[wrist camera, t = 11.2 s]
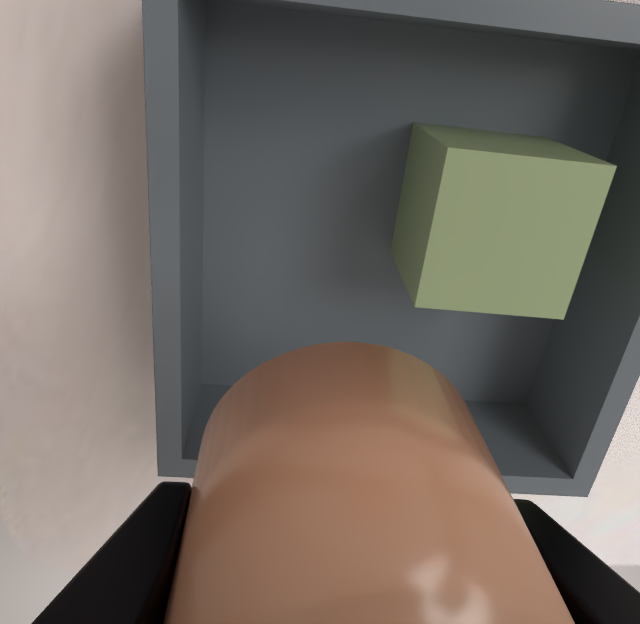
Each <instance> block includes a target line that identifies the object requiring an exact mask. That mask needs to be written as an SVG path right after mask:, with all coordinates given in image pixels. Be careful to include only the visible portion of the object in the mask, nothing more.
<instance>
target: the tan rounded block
mask: <svg viewBox="0 0 640 624" xmlns="http://www.w3.org/2000/svg"><path fill="white" fill-rule="evenodd" d="M163 624H575V623H574V621H573V619H572V617H571V615H570V613H569V611H568V609H567V607H566V605H565V602H564V600H563V598H562V596H561V594H560V592H559V590H558V588H557V586H556V584H555V582H554V580H553V578H552V576H551V574H550V572H549V570H548V568H547V566H546V564H545V562H544V560H543V558H542V556H541V554H540V552H539V550H538V548H537V546H536V544H535V542H534V540H533V538H532V536H531V534H530V532H529V530H528V528H527V526H526V524H525V522H524V520H523V518H522V516H521V514H520V512H519V510H518V508H517V506H516V504H515V502H514V500H513V498H512V496H511V494H510V492H509V490H508V488H507V486H506V484H505V482H504V480H503V478H502V476H501V473H500V471H499V469H498V467H497V465H496V463H495V461H494V459H493V457H492V455H491V453H490V451H489V449H488V447H487V445H486V443H485V441H484V439H483V437H482V435H481V433H480V431H479V429H478V427H477V425H476V423H475V421H474V419H473V417H472V415H471V413H470V411H469V409H468V407H467V405H466V403H465V401H464V399H463V398H462V396H461V395H460V394H459V392H458V391H457V389H456V388H455V387H454V386H453V385H452V384H451V382H450V381H449V380H448V379H447V378H446V377H445V376H444V375H442V374H441V373H440V372H438V371H437V370H436V369H435V368H433V367H432V366H431V365H429V364H427V363H425V362H424V361H422V360H420V359H418V358H417V357H415V356H412V355H410V354H407V353H405V352H402V351H400V350H397V349H393V348H389V347H386V346H382V345H377V344H369V343H362V342H333V343H322V344H316V345H311V346H307V347H302V348H298V349H295V350H292V351H289V352H286V353H283V354H281V355H279V356H277V357H274V358H272V359H270V360H268V361H266V362H264V363H262V364H261V365H259V366H258V367H256V368H254V369H253V370H251V371H250V372H248V373H247V374H246V375H244V376H243V377H242V378H241V379H240V380H238V381H237V382H236V383H235V384H234V385H233V386H232V387H231V388H230V389H229V390H228V391H227V392H226V393H225V395H224V396H223V397H222V398H221V400H220V401H219V403H218V404H217V405H216V407H215V408H214V410H213V412H212V414H211V416H210V418H209V420H208V422H207V424H206V427H205V431H204V434H203V437H202V441H201V446H200V451H199V456H198V460H197V465H196V470H195V474H194V479H193V484H192V488H191V494H190V499H189V504H188V509H187V513H186V518H185V523H184V527H183V532H182V537H181V542H180V546H179V551H178V556H177V560H176V565H175V570H174V574H173V578H172V583H171V587H170V592H169V596H168V601H167V606H166V610H165V615H164V620H163Z"/></svg>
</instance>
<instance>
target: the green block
mask: <svg viewBox="0 0 640 624" xmlns="http://www.w3.org/2000/svg"><path fill="white" fill-rule="evenodd" d="M616 167H617V166H616V165H613V164H611V163H608V162H606V161H603V160H601V159H598V158H596V157H593V156H591V155H589V154H586V153H584V152H581V151H579V150H576V149H574V148H571V147H569V146H566V145H564V144H562V143H559V142H557V141H554V140H552V139H549V138H547V137H540V136H531V135H522V134H513V133H505V132H496V131H487V130H478V129H469V128H461V127H452V126H443V125H434V124H425V123H417V122H413V128H412V134H411V139H410V145H409V150H408V156H407V161H406V167H405V173H404V178H403V184H402V189H401V195H400V201H399V206H398V212H397V217H396V223H395V229H394V234H393V240H392V245H391V251H390V253H391V255H392V257H393V259H394V262H395V264H396V266H397V268H398V271H399V273H400V275H401V278H402V280H403V282H404V284H405V287H406V289H407V291H408V293H409V296H410V298H411V300H412V302H413V305H414V307H419V308H431V309H443V310H455V311H467V312H479V313H491V314H503V315H514V316H526V317H538V318H550V319H562V320H564V317H565V315H566V312H567V309H568V306H569V303H570V300H571V297H572V294H573V291H574V289H575V286H576V283H577V280H578V277H579V274H580V271H581V268H582V266H583V263H584V260H585V257H586V254H587V251H588V248H589V245H590V242H591V240H592V237H593V234H594V231H595V228H596V225H597V222H598V219H599V216H600V214H601V211H602V208H603V205H604V202H605V199H606V196H607V193H608V191H609V188H610V185H611V182H612V179H613V176H614V173H615V170H616Z"/></svg>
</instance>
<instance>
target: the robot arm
mask: <svg viewBox="0 0 640 624" xmlns="http://www.w3.org/2000/svg"><path fill="white" fill-rule="evenodd" d="M190 494H191V486H190V484H189V483H186V482H166V481H165V482H162V483H160V484H158V485H157V487H156V488H155V489H154V490H153V491H152V492H151V493H150V494H149V495H148V496H147V497H146V499H145V500H144V501H143V502H142V503H141V504H140V505H139V506H138V507H137V508H136V510H135V511H134V512H133V513H132V514H131V515H130V516H129V517H128V518H127V519H126V521H125V522H124V523H123V524H122V525H121V526H120V527H119V528H118V529H117V530H116V531H115V533H114V534H113V535H112V536H111V537H110V538H109V539H108V540H107V541H106V542H105V544H104V545H103V546H102V547H101V548H100V549H99V550H98V551H97V552H96V553H95V555H94V556H93V557H92V558H91V559H90V560H89V561H88V562H87V563H86V564H85V565H84V567H83V568H82V569H81V570H80V571H79V572H78V573H77V574H76V575H75V576H74V578H73V579H72V580H71V581H70V582H69V583H68V584H67V585H66V586H65V587H64V589H63V590H62V591H61V592H60V593H59V594H58V595H57V596H56V597H55V598H54V600H53V601H52V602H51V603H50V604H49V605H48V606H47V607H46V608H45V610H44V611H43V612H42V613H41V614H40V615H39V616H38V617H37V618H36V619H35V620H34V622H33V623H32V624H163V620H164V615H165V610H166V606H167V601H168V596H169V592H170V587H171V583H172V578H173V574H174V570H175V565H176V560H177V556H178V551H179V546H180V542H181V537H182V532H183V527H184V523H185V518H186V513H187V509H188V504H189V499H190ZM513 500H514V502H515V504H516V506H517V508H518V510H519V512H520V514H521V516H522V518H523V520H524V522H525V524H526V526H527V528H528V530H529V532H530V534H531V536H532V538H533V540H534V542H535V544H536V546H537V548H538V550H539V552H540V554H541V556H542V558H543V560H544V562H545V564H546V566H547V568H548V570H549V572H550V574H551V576H552V578H553V580H554V582H555V584H556V586H557V588H558V590H559V592H560V594H561V596H562V598H563V600H564V602H565V605H566V607H567V609H568V611H569V613H570V615H571V617H572V619H573V621H574V623H575V624H640V592H638V591H637V590H636V589H635V588H634V587H633V586H631V585H630V584H629V583H628V582H626V581H625V580H624V579H623V578H622V577H621V576H619V575H618V574H617V573H616V572H615V571H614V570H612V569H611V568H610V567H609V566H608V565H607V564H605V563H604V562H603V561H602V560H601V559H599V558H598V557H597V556H596V555H595V554H594V553H592V552H591V551H590V550H589V549H588V548H587V547H585V546H584V545H583V544H582V543H581V542H579V541H578V540H577V539H576V538H575V537H574V536H572V535H571V534H570V533H569V532H568V531H566V530H565V529H564V528H563V527H562V526H561V525H559V524H558V523H557V522H556V521H555V520H553V519H552V518H551V517H550V516H549V515H548V514H546V513H545V512H544V511H543V510H542V509H540V508H539V507H538V506H537V505H536V504H534V503H533V502H531V501H529V500H522V499H513Z"/></svg>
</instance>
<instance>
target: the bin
mask: <svg viewBox="0 0 640 624" xmlns="http://www.w3.org/2000/svg"><path fill="white" fill-rule="evenodd" d="M142 15H143V45H144V75H145V105H146V135H147V165H148V195H149V224H150V254H151V284H152V314H153V344H154V374H155V404H156V434H157V464H158V476H165V477H186V478H194V474H195V470H196V465H197V460H198V456H199V451H200V446H201V441H202V437H203V434H204V431H205V427H206V424H207V422H208V420H209V418H210V416H211V414H212V412H213V410H214V408H215V407H216V405H217V404H218V403H219V401H220V400H221V398H222V397H223V396H224V395H225V393H226V392H227V391H228V390H229V389H230V388H231V387H232V386H233V385H234V384H235V383H236V382H237V381H238V380H240V379H241V378H242V377H243V376H244V375H246V374H247V373H248V372H250V371H251V370H253V369H254V368H256V367H258V366H259V365H261V364H262V363H264V362H266V361H268V360H270V359H272V358H274V357H277V356H279V355H281V354H283V353H286V352H289V351H292V350H295V349H298V348H302V347H307V346H311V345H316V344H322V343H333V342H362V343H369V344H377V345H382V346H386V347H389V348H393V349H397V350H400V351H402V352H405V353H407V354H410V355H412V356H415V357H417V358H418V359H420V360H422V361H424V362H425V363H427V364H429V365H431V366H432V367H433V368H435V369H436V370H437V371H438V372H440V373H441V374H442V375H444V376H445V377H446V378H447V379H448V380H449V381H450V382H451V384H452V385H453V386H454V387H455V388H456V389H457V391H458V392H459V394H460V395H461V396H462V398H463V399H464V401H465V403H466V405H467V407H468V409H469V411H470V413H471V415H472V417H473V419H474V421H475V423H476V425H477V427H478V429H479V431H480V433H481V435H482V437H483V439H484V441H485V443H486V445H487V447H488V449H489V451H490V453H491V455H492V457H493V459H494V461H495V463H496V465H497V467H498V469H499V471H500V473H501V476H502V478H503V480H504V482H505V484H506V486H507V488H508V490H509V492H510V493H516V494H536V495H557V496H578V497H588V494H589V492H590V490H591V487H592V485H593V483H594V481H595V478H596V476H597V474H598V471H599V469H600V467H601V464H602V462H603V460H604V457H605V455H606V453H607V450H608V448H609V446H610V443H611V441H612V439H613V436H614V434H615V432H616V429H617V427H618V425H619V422H620V420H621V418H622V415H623V413H624V411H625V408H626V406H627V404H628V401H629V399H630V397H631V394H632V392H633V390H634V387H635V385H636V383H637V380H638V378H639V376H640V5H638V4H630V3H622V2H614V1H606V0H142ZM413 122H417V123H425V124H434V125H443V126H452V127H461V128H469V129H478V130H487V131H496V132H505V133H513V134H522V135H531V136H540V137H547V138H549V139H552V140H554V141H557V142H559V143H562V144H564V145H566V146H569V147H571V148H574V149H576V150H579V151H581V152H584V153H586V154H589V155H591V156H593V157H596V158H598V159H601V160H603V161H606V162H608V163H611V164H613V165H616V166H617V167H616V170H615V173H614V176H613V179H612V182H611V185H610V188H609V191H608V193H607V196H606V199H605V202H604V205H603V208H602V211H601V214H600V216H599V219H598V222H597V225H596V228H595V231H594V234H593V237H592V240H591V242H590V245H589V248H588V251H587V254H586V257H585V260H584V263H583V266H582V268H581V271H580V274H579V277H578V280H577V283H576V286H575V289H574V291H573V294H572V297H571V300H570V303H569V306H568V309H567V312H566V315H565V317H564V320H562V319H550V318H538V317H526V316H514V315H503V314H491V313H479V312H467V311H455V310H443V309H431V308H419V307H414V305H413V302H412V300H411V298H410V296H409V293H408V291H407V289H406V287H405V284H404V282H403V280H402V278H401V275H400V273H399V271H398V268H397V266H396V264H395V262H394V259H393V257H392V255H391V253H390V251H391V245H392V240H393V234H394V229H395V223H396V217H397V212H398V206H399V201H400V195H401V189H402V184H403V178H404V173H405V167H406V161H407V156H408V150H409V145H410V139H411V134H412V128H413Z"/></svg>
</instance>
